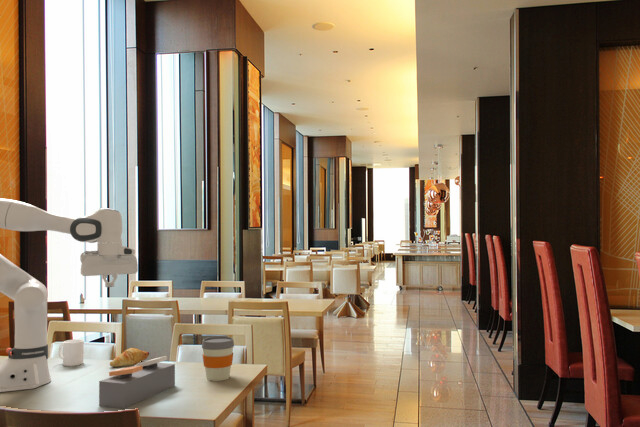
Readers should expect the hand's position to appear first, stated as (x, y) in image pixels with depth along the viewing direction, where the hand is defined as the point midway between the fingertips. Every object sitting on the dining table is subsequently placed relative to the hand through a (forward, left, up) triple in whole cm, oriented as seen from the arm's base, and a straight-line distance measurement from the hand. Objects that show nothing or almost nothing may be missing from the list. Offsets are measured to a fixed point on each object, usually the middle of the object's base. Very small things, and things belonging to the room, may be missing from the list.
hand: (109, 286), depth 201 cm
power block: (+6, -19, -37) cm, 42 cm away
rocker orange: (0, -23, -27) cm, 36 cm away
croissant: (+16, +33, -38) cm, 53 cm away
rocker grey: (+12, -15, -27) cm, 33 cm away
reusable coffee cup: (+38, -14, -37) cm, 55 cm away
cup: (-6, +48, -37) cm, 61 cm away
